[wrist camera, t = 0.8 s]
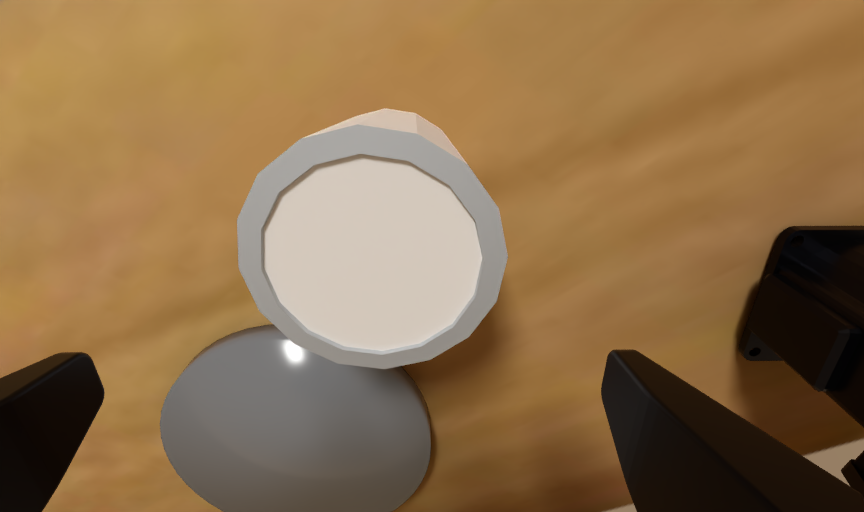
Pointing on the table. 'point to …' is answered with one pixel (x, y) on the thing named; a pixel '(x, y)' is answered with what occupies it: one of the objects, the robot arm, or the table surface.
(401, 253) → the white cup
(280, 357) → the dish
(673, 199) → the table surface
